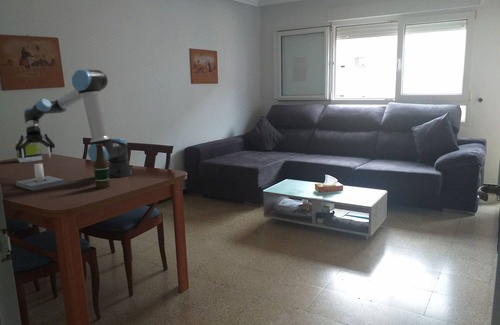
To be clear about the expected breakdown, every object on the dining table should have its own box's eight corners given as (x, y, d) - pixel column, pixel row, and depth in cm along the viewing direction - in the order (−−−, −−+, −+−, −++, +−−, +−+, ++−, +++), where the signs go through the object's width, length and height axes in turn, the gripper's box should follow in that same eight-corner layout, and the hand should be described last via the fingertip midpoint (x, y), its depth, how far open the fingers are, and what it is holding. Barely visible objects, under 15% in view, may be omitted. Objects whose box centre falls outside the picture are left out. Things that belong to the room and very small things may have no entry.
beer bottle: (105, 184, 219) (102, 142, 214) (113, 186, 214) (109, 143, 209) (92, 187, 213) (88, 144, 208) (100, 189, 208) (96, 145, 203)
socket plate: (64, 183, 221) (64, 179, 221) (32, 190, 207) (31, 186, 206) (48, 179, 231) (47, 175, 231) (16, 186, 217) (15, 181, 216)
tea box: (39, 158, 300) (37, 139, 298) (42, 160, 293) (40, 141, 290) (17, 161, 291) (15, 141, 288) (19, 163, 284) (17, 143, 281)
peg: (46, 184, 220) (44, 164, 217) (38, 186, 216) (36, 165, 214) (42, 183, 222) (40, 163, 220) (34, 185, 219) (32, 164, 216)
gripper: (56, 132, 242) (60, 159, 232) (9, 135, 230) (12, 163, 220) (55, 124, 236) (60, 152, 227) (8, 127, 224) (11, 156, 214)
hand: (36, 157), depth 223 cm, fingers open, 13 cm apart
